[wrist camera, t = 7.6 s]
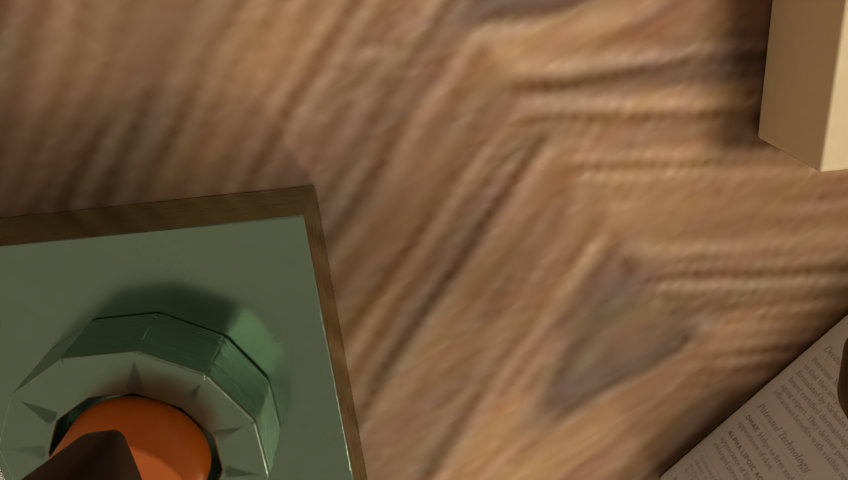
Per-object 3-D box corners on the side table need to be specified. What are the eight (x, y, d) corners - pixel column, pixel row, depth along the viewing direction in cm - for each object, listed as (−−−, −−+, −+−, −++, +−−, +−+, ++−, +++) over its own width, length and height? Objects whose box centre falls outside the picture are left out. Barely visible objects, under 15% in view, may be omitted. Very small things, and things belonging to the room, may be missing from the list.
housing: (-46, 222, 18) (-158, 292, 15) (314, 184, 18) (292, 245, 15) (79, 517, 23) (17, 626, 19) (369, 488, 23) (362, 593, 19)
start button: (49, 402, 17) (11, 452, 15) (193, 388, 16) (171, 436, 15) (93, 510, 18) (63, 565, 16) (225, 497, 18) (208, 551, 16)
